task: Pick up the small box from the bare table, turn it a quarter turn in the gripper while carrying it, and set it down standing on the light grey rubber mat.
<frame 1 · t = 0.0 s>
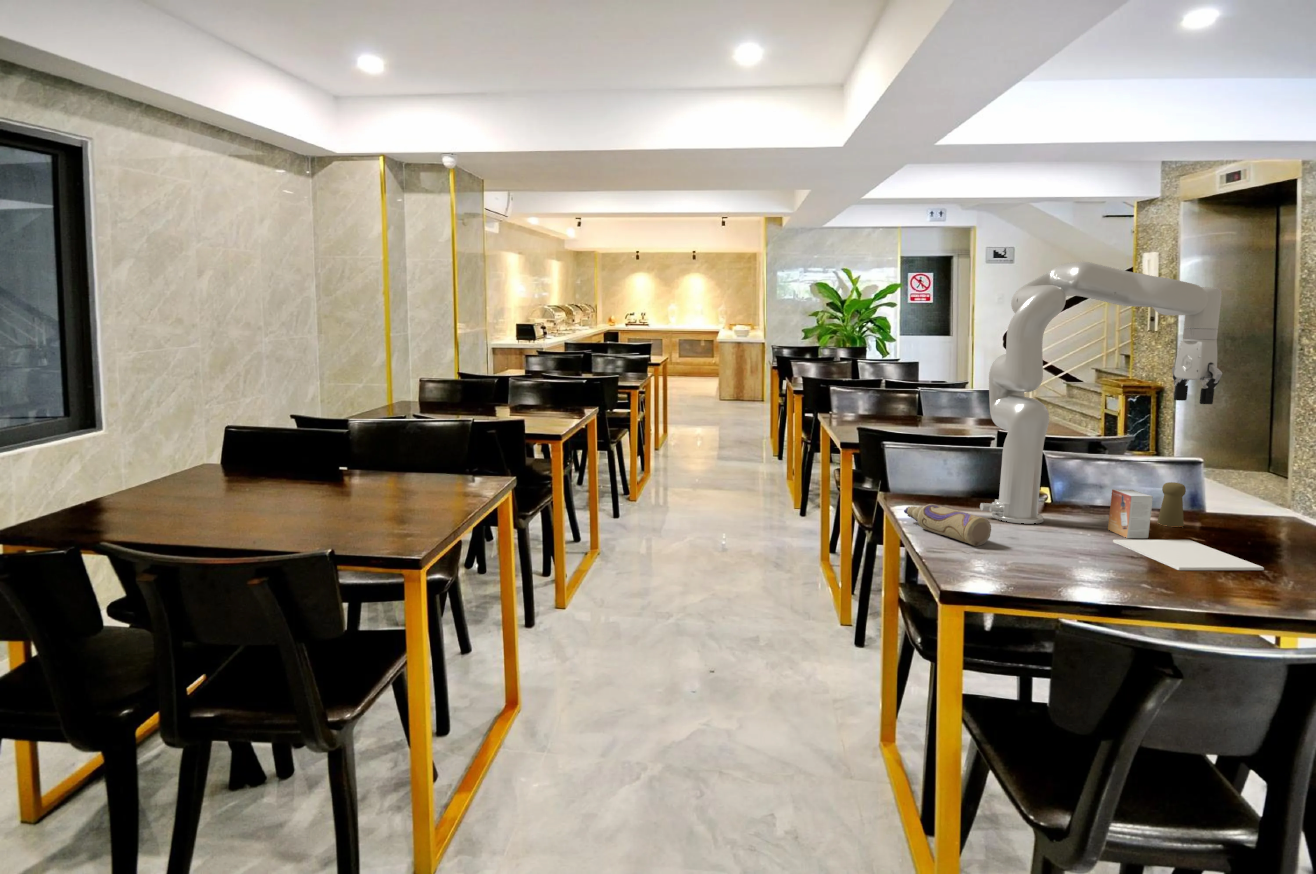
hand: (1192, 402, 229), 31 cm above the table, tool pointing down, fingers open, 9 cm apart
small box: (1127, 535, 215), on the table
decorative bottle: (946, 534, 212), on the table
cork: (1170, 525, 227), on the table
mat: (1184, 555, 197), on the table
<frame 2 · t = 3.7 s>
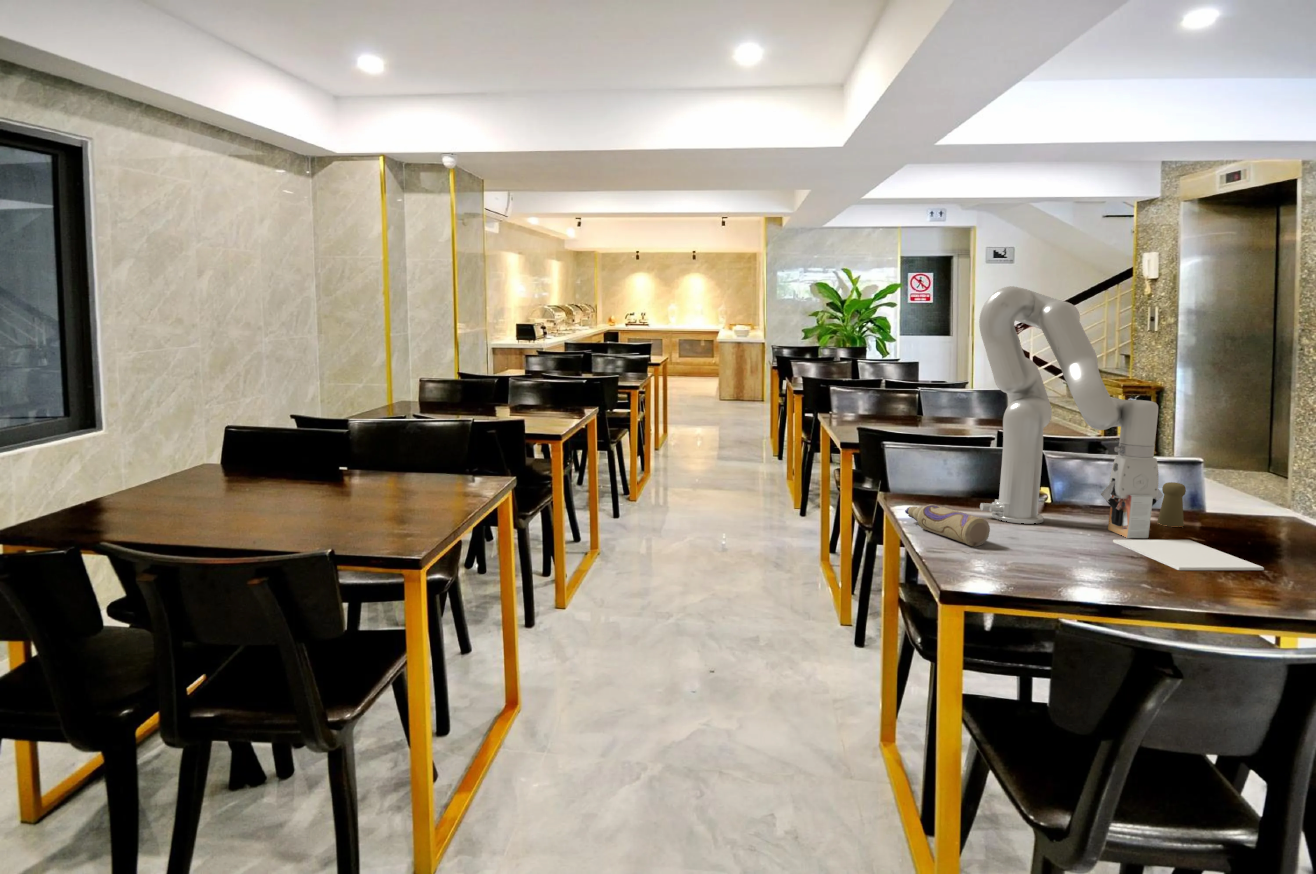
hand: (1128, 524, 215), 3 cm above the table, tool pointing down, fingers closed on small box, 5 cm apart
small box: (1127, 535, 215), on the table, touching gripper
everything else where it was.
when the fingers open (4 cm above the table, at t = 10.5 s): small box drops 1 cm, resting on mat.
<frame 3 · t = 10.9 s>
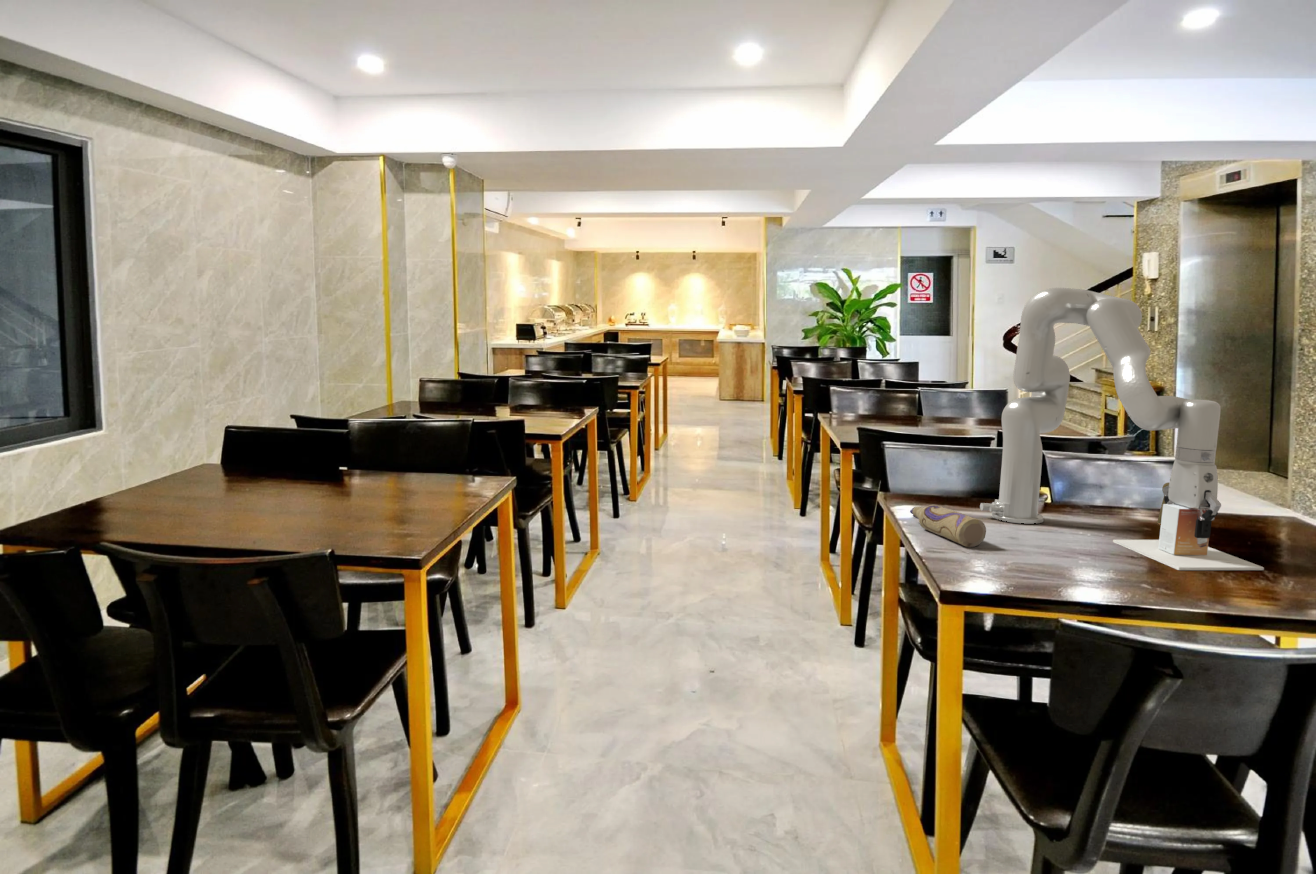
hand: (1186, 532, 196), 5 cm above the table, tool pointing down, fingers open, 9 cm apart
small box: (1182, 553, 197), resting on mat
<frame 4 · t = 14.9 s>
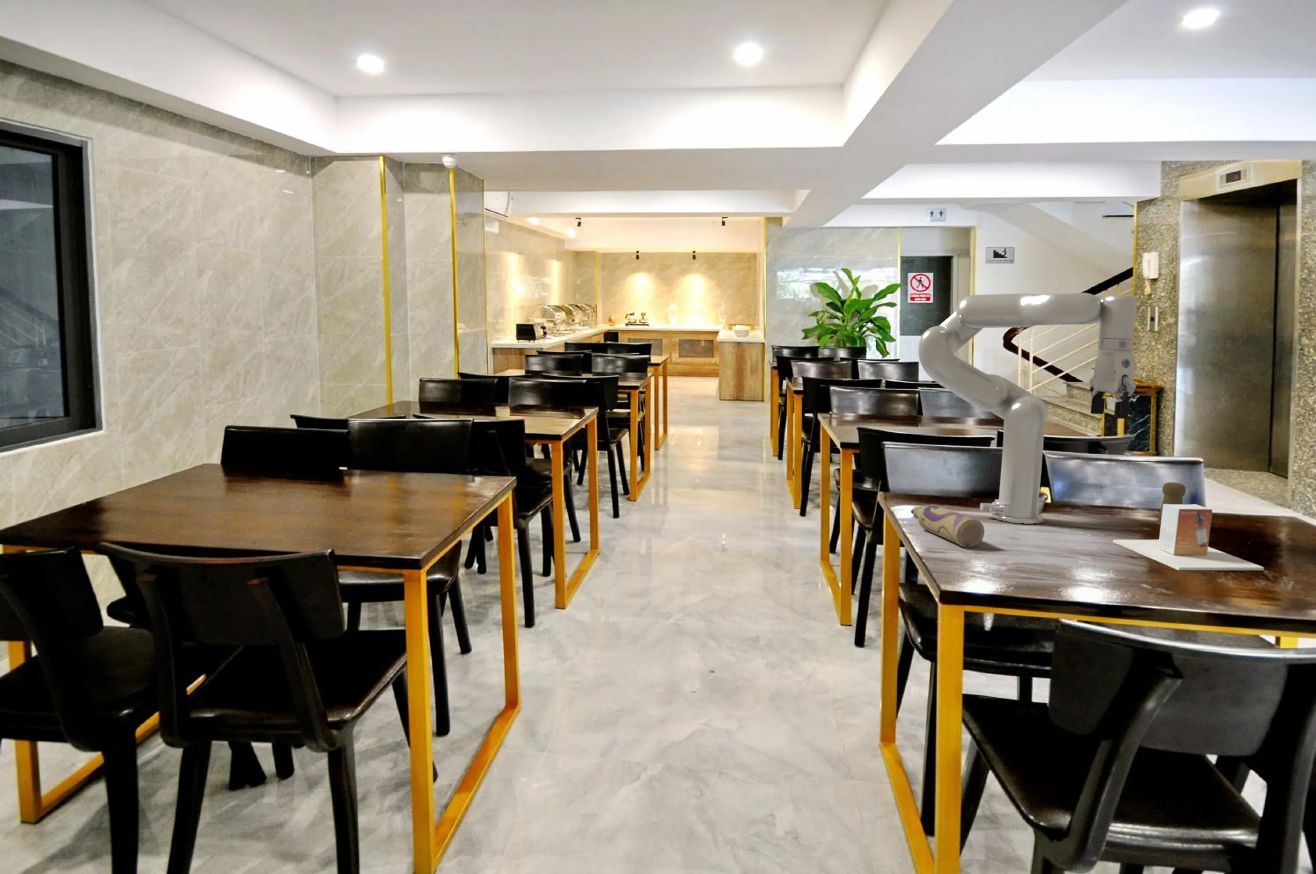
hand: (1108, 416, 217), 28 cm above the table, tool pointing down, fingers open, 9 cm apart
at the end: small box inside the target area on the mat (0.5 cm from its centre), point 0.4 cm above the mat's base; small box tilted 0°; small box touching mat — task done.
